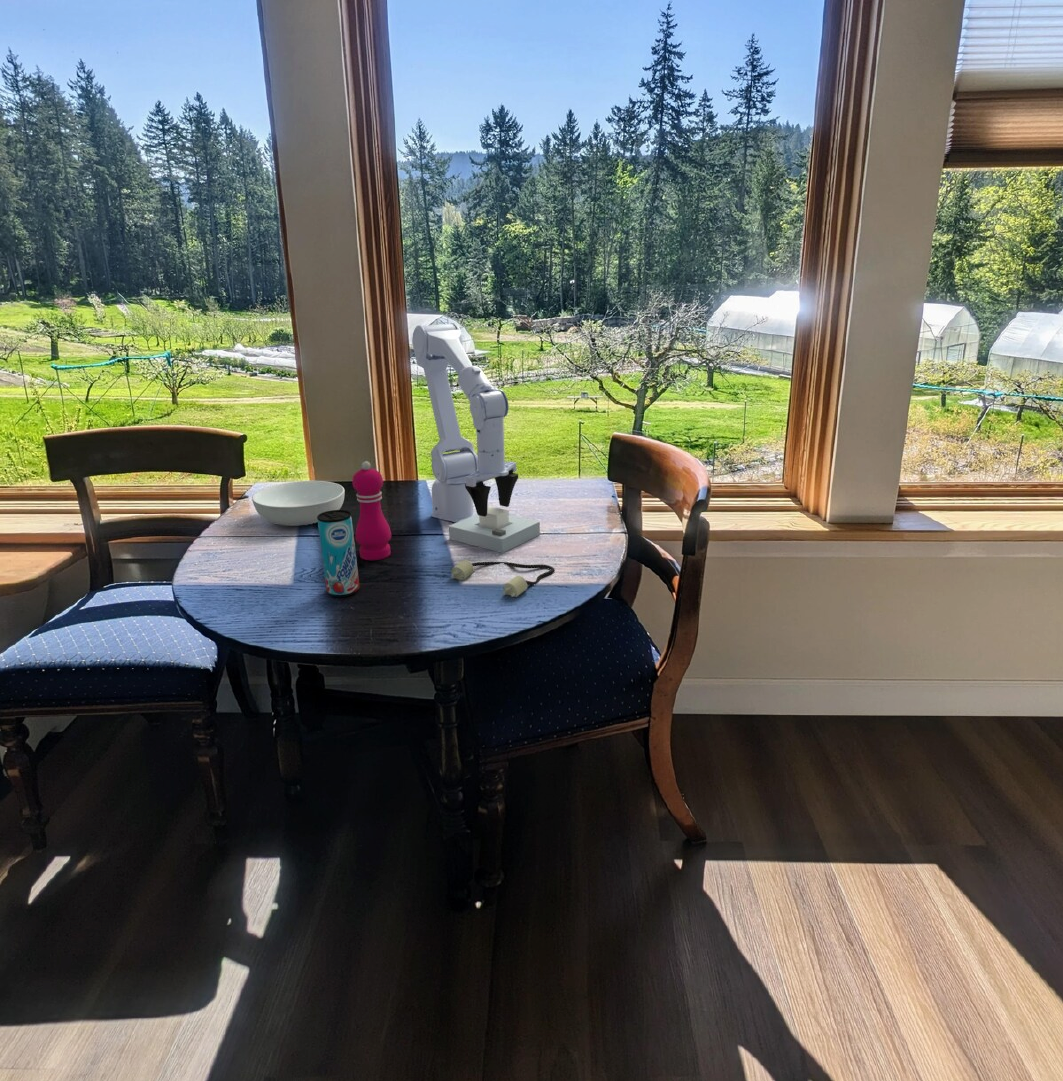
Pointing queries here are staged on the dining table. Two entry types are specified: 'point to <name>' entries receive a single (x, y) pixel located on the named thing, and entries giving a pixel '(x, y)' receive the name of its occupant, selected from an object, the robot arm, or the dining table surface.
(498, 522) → the cream rectangular block
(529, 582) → the cable
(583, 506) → the dining table surface
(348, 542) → the beverage can
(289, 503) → the serving bowl
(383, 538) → the pepper mill
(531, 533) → the socket plate
